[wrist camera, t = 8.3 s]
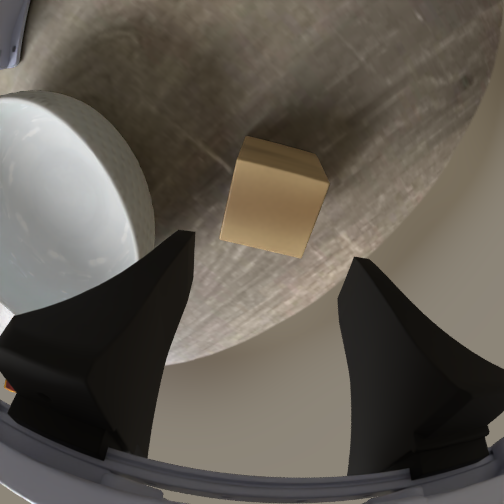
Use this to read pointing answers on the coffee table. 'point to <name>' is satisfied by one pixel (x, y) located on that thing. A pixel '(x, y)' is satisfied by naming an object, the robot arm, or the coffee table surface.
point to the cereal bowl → (65, 200)
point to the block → (274, 197)
